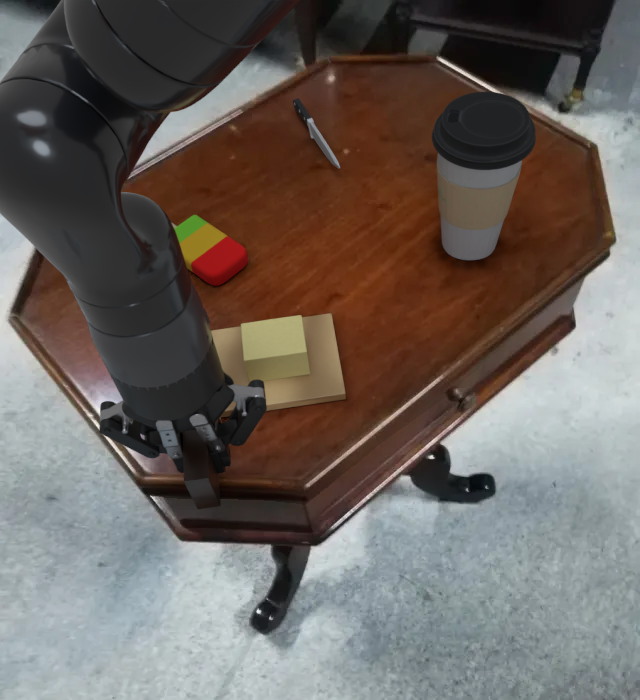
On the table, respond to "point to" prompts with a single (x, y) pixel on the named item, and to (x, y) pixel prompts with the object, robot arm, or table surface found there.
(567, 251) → the table surface
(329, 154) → the knife
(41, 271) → the table surface
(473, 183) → the coffee cup
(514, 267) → the table surface
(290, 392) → the board
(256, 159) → the table surface
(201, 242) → the popsicle
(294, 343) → the butter stick
